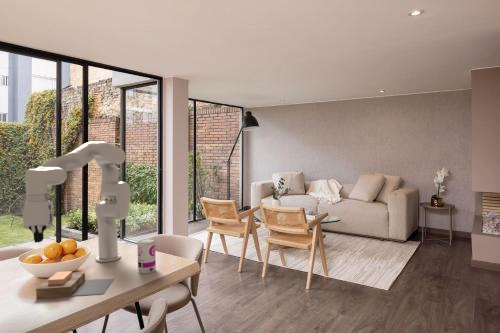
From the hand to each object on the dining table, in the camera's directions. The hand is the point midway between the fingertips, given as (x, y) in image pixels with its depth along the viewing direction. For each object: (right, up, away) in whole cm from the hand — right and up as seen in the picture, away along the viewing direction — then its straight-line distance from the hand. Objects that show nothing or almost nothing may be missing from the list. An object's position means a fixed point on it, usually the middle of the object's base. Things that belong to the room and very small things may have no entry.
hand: (38, 241), depth 138 cm
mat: (+21, -21, +4) cm, 30 cm away
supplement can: (+38, -20, +23) cm, 49 cm away
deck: (+8, -21, +2) cm, 23 cm away
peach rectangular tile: (+8, -17, +2) cm, 19 cm away
